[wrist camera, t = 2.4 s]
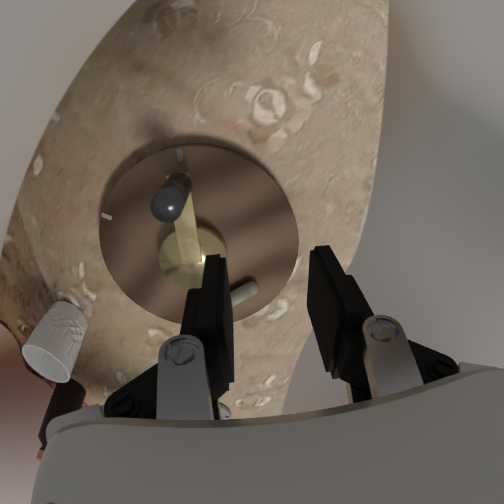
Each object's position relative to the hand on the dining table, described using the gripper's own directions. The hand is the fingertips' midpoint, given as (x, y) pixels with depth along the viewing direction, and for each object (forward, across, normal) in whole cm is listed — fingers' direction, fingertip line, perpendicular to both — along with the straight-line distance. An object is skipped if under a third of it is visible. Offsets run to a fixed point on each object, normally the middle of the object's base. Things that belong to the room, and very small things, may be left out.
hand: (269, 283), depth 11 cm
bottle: (+19, +40, +39) cm, 59 cm away
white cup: (+19, +29, +19) cm, 40 cm away
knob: (+17, +6, +5) cm, 19 cm away
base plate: (+19, +6, +8) cm, 22 cm away
